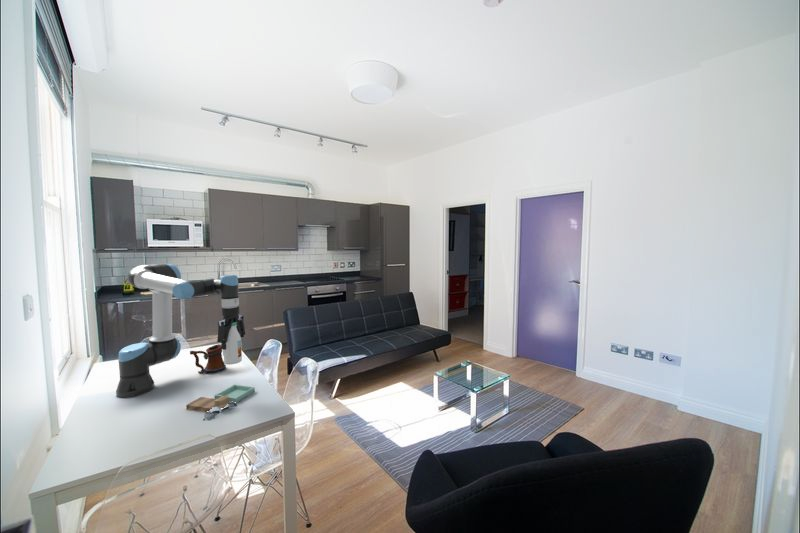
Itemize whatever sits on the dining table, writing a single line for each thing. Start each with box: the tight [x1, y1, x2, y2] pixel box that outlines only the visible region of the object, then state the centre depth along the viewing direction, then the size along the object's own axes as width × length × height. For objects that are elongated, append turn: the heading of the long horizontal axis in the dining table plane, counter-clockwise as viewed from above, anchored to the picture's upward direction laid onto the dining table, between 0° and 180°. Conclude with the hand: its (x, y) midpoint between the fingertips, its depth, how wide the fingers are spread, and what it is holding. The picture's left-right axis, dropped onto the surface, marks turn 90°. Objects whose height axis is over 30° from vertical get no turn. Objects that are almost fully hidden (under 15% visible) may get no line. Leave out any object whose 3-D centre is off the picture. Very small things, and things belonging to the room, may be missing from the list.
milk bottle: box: [223, 322, 243, 365], centre depth 155 cm, size 8×8×20 cm
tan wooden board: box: [185, 396, 216, 413], centre depth 146 cm, size 14×8×2 cm, turn 76°
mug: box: [189, 343, 227, 375], centre depth 187 cm, size 18×12×15 cm, turn 129°
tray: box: [214, 384, 256, 404], centre depth 156 cm, size 12×12×2 cm
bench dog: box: [214, 396, 230, 408], centre depth 144 cm, size 3×5×5 cm, turn 164°
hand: (232, 352), depth 155 cm, fingers closed on milk bottle, 8 cm apart
